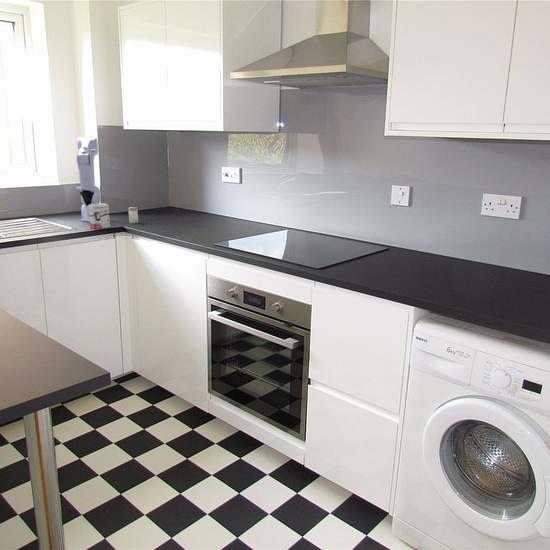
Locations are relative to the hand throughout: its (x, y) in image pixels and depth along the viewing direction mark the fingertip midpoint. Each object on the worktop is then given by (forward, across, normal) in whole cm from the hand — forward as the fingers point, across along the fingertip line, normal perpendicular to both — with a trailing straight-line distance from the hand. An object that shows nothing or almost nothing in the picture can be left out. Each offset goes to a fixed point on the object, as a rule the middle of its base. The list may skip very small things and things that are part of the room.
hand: (88, 205), depth 266 cm
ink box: (+11, +8, 0) cm, 13 cm away
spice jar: (+10, +10, +20) cm, 25 cm away
